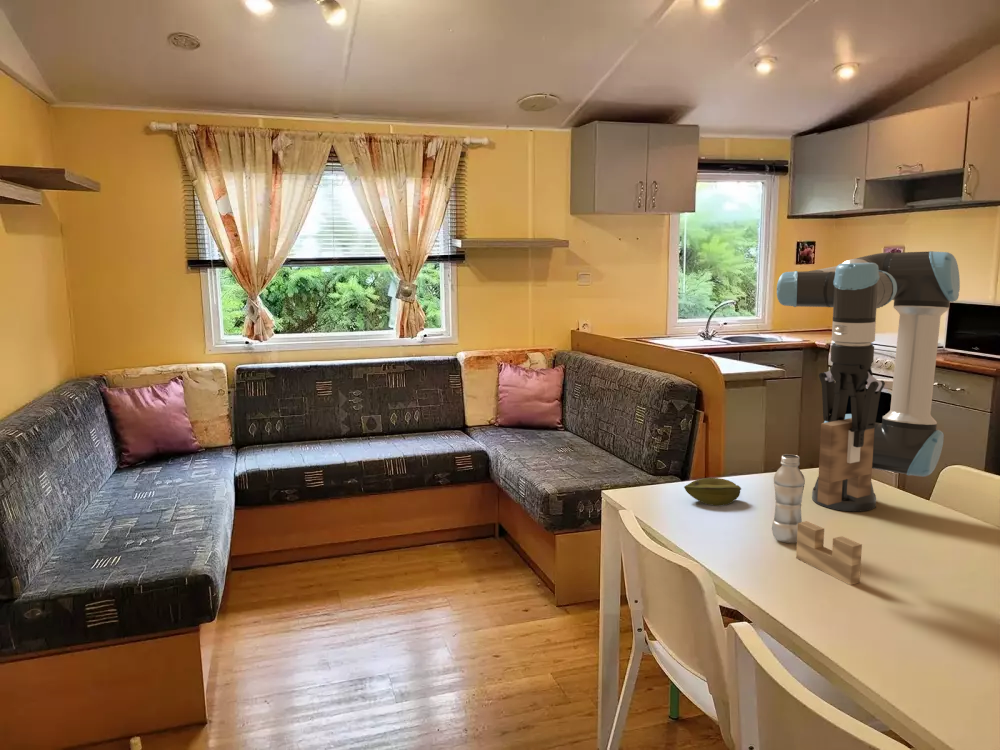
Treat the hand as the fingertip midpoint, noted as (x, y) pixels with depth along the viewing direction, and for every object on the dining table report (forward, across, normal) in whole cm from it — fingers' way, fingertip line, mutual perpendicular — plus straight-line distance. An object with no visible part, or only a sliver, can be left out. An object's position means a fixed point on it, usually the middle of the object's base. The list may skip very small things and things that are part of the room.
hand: (846, 459), depth 141 cm
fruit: (+25, -45, +6) cm, 52 cm away
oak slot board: (+24, -2, -1) cm, 24 cm away
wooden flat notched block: (+8, 0, 0) cm, 8 cm away
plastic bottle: (+24, -17, +3) cm, 30 cm away
